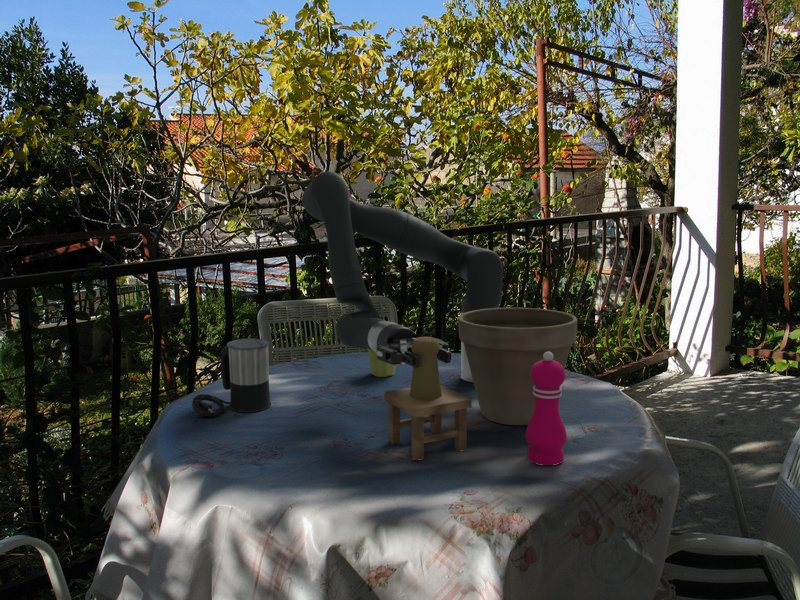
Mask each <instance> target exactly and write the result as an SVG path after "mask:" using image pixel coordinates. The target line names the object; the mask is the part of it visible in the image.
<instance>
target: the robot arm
mask: <svg viewBox="0 0 800 600" xmlns="http://www.w3.org/2000/svg"><path fill="white" fill-rule="evenodd" d="M301 203H302V206H303V208H304V210H305V211H306V212H307V213H308V214H309V215H310V216H311V217H313V218H315V219H317V220H318V221H322V222H324V226H325V231H326V238H327V259H328V268H329V269H328V270H329V275H330V279H331V284H332V287H333V291H334V294H335V298H336V301H337V302H338V303H339V304H344V305H353V306H355V307H356V308H357V309H358V310H359V311H354V312H349V313H345V314H343V315H340V317H339V318H338V319H337V320H336V323H335V334H336V336H337V338H338V340H339V341H340V342H341V343H342V344H344V345H345V346H347V347H349V348H350V347H351V348H356V349H357V348H358V349H367V348H368V349H369V350H371V351H374V352H375V353H376V354H377V359H378V360H381V361H384V362H386V363H389V364H392V365H409V366H411V367H412V368H413V367H414V368H416V367H419V356H418V355H416V354H414V353H413V352H412V347H411V346H412V342H413V341H414V339H416V338H419V337H418V335H417V334H416V333H415V332H414V330H412V329H411V328H410V327H406V326H404V325H401V324H398V323H396V322H394V321H387V320H385V319H382V315H380V312H379V311H378V309H377V307H376V306H375V304H374V303H373V300H372V298H371V296H370V295H369V293H368V290H367V288H366V284H365V281H364V277H363V273H362V269H361V265H360V262H359V261H360V260H359V257H358V254H357V247H356V244H355V238H354V232H355V233H356V234H360V235H361V236H364V237H366V238H368V239H371V240H372V241H375V242H377V243H380V244H381V245H384V246H386V247H388V248H390V249H392V250H394V251H397V252H399V253H401V254H404V255H405V256H409V257H411V258H412V257H413V259H414V258H415V259H418V260H422V261H425V262H430V263H432V264H435V265H438V266H440V267H443V268H444V269H446V270H448V271H450V272H451V273H453V274H455V275H457V276H458V277H460V278H461V279H462V280H464V281H466V291H465V292H466V295H465V297H464V299H463V300H462V301H461V314H463V313H465V312H469V311H474V310H480V309H490V308H500V304H501V301H502V295H503V276H504V273H503V272H504V269H503V263H502V262H503V261H502V259H501V258H500V256H499V254H498V253H496V252H495V251H493V250H491V249H487V248H483V247H479V246H474V245H471V244H467V243H465V242H462V241H459V240H456V239H453V238H451V237H449V236H447V235H446V234H444V233H442V232H441V231H439V230H438V229H437V228H436V227H434V226H432V224H429V223H428V222H426V221H425V220H422V219H421V218H419V217H416V216H414V215H412V214H410V213H407V212H406V211H403V210H400V209H397V208H396V209H395V208H389V207H385V206H384V207H383V206H376V205H375V206H374V205H368V204H364V203H362V202H358V201H355V200H354V199H351V198H350V193H349V189H348V185H347V182H346V181H345V179H344V178H343V177H342V176H341V175H340V174H338V173H336V172H334V171H323V172H320V173H318V174H317V175H315V176H314V178H313V179H312V180H311V181H310V183H309V184H308V185H307V186H306V188H305V189H304V191H303V192H302V196H301ZM434 338H435V339H437V341H438V342H439V352H438V354H437V361H438V360H439V361H441V362H443V363H445V364H449V363H451V361H452V352H451V351H450V350H449V347H450V345H449V343H447V342H446V341H443V340H442V339H440V338H437V337H434ZM460 341H461V340H460ZM460 346H461V347H460V348H461V349H460V351H461V353H460V358H461V359H460V362H461V363H460V364H461V365H460V368H461V369H460V373H461V374H460V378H461V379H462V381H465V382H469V383H474V382H473V378H472V374H471V370H470V366H469V362H468V358H467V355H466V350H465V346H464V343H463V342H462V341H461V344H460Z"/></svg>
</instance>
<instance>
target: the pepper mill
mask: <svg viewBox="0 0 800 600" xmlns="http://www.w3.org/2000/svg"><path fill="white" fill-rule="evenodd" d="M543 358H544V360H540V361H538V362H536V363H535V364H534V365H533V367H532V369H531V374H530V375H531V379H532V381H533V382H534V384H535V386H534V387H533V389H534V391H533V394H534V395H535V399H536V404H535V410H534V413H533V416H532V418H531V420H530V422H529V424H528V425H526V431H525V440H526V443H527V444H529V447H528V448H527V459H528V461H529V460H530V461H532V462H534V463H538V464H543V465H553V464H557V463H560V462H562V461H563V462H564V450H563V449H562V448H563V447H564V446H565V445H566V443H567V441H568V439H567V438H568V437H567V436H568V435H567V430H566V427H565V424H564V422H563V419H562V417H561V415H560V411H559V410H560V409H559V402H560V398H561V396H562V395H563V393H562V391H563V388H562V384H564V382H565V379H566V372H565V371H566V370H565V369H564V368H563V366H562V365H561V364H560V363H558V362H557V361H554V360H552V359H553V354H552V353H551V352H549V351H548V352H545V353H544V355H543ZM530 461H529V462H530ZM532 462H531V463H532ZM563 462H562V463H563ZM534 463H533V464H534Z"/></svg>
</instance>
